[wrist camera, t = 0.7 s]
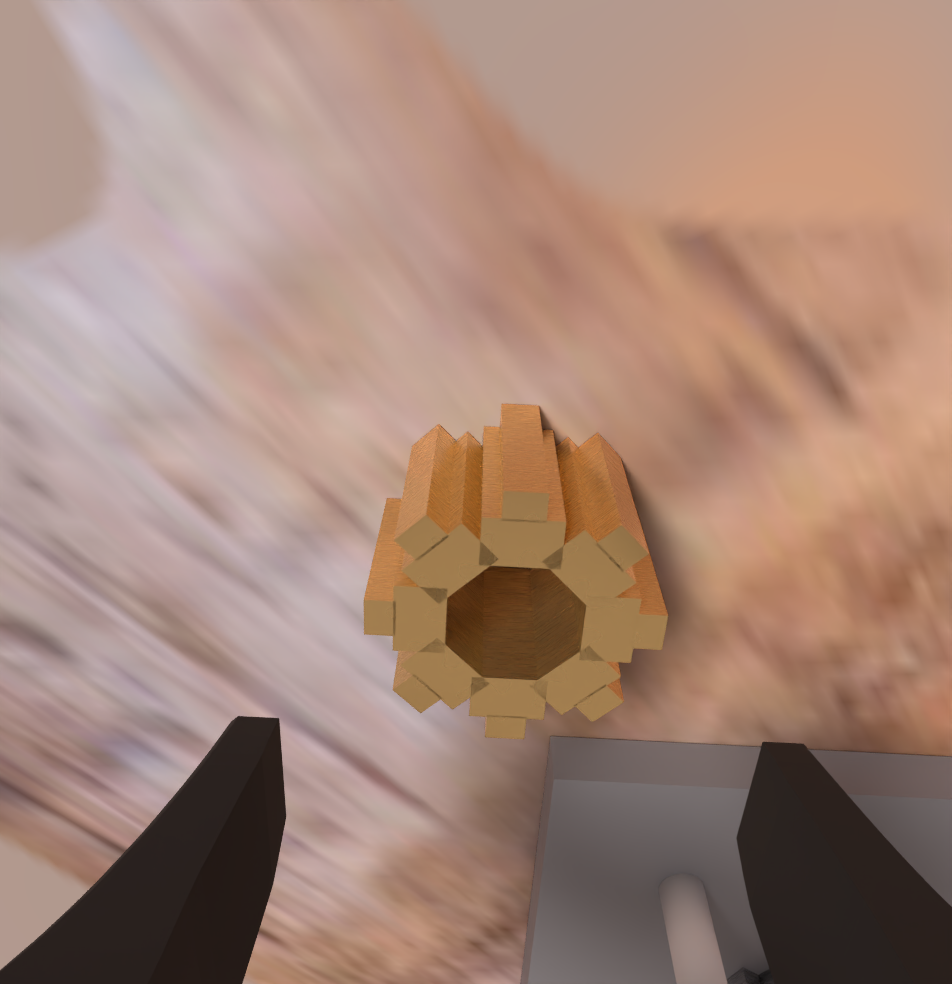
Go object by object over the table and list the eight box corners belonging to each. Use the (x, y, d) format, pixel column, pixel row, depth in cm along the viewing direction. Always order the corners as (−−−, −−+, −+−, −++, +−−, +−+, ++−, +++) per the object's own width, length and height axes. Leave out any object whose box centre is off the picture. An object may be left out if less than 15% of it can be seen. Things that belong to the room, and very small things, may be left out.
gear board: (1038, 761, 23) (1151, 912, 19) (901, 1046, 29) (965, 1206, 25) (550, 736, 23) (562, 882, 19) (514, 1027, 29) (518, 1185, 25)
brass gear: (653, 411, 19) (690, 501, 15) (619, 627, 21) (643, 745, 18) (387, 397, 19) (362, 483, 15) (386, 615, 21) (365, 731, 18)
